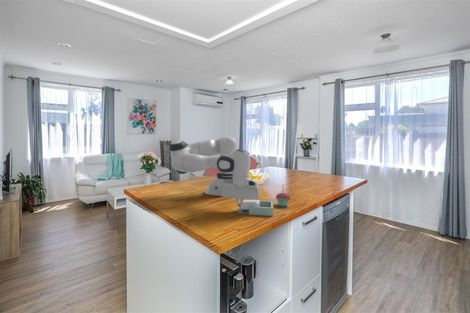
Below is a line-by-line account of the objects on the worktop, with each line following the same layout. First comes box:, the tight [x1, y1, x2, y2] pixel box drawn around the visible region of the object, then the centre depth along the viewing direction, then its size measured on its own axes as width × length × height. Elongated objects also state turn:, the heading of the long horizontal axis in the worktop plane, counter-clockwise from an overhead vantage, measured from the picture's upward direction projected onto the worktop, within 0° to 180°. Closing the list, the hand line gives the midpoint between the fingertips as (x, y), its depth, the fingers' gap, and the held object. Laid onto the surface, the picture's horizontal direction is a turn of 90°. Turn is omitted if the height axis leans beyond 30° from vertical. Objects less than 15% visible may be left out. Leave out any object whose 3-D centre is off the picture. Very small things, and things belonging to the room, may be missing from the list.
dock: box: [237, 200, 274, 217], centre depth 126 cm, size 18×13×5 cm
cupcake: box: [275, 184, 292, 207], centre depth 137 cm, size 9×8×12 cm
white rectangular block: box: [241, 199, 261, 211], centre depth 126 cm, size 9×7×4 cm
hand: (239, 206), depth 126 cm, fingers closed
